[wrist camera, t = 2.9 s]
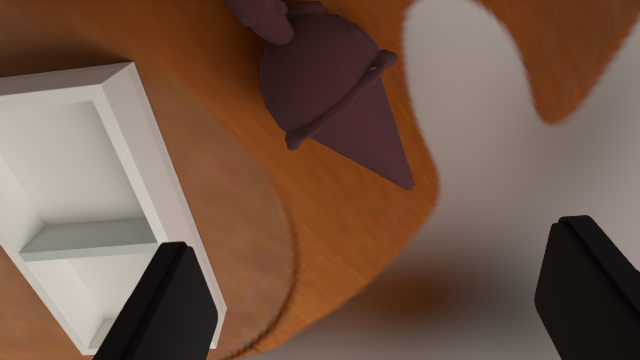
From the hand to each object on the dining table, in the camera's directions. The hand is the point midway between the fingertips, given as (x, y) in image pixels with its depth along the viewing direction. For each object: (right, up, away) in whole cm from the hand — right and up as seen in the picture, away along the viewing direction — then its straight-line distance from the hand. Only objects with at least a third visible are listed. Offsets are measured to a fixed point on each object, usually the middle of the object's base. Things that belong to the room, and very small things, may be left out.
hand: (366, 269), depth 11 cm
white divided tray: (-17, 0, +20) cm, 26 cm away
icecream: (-1, +9, +13) cm, 16 cm away
